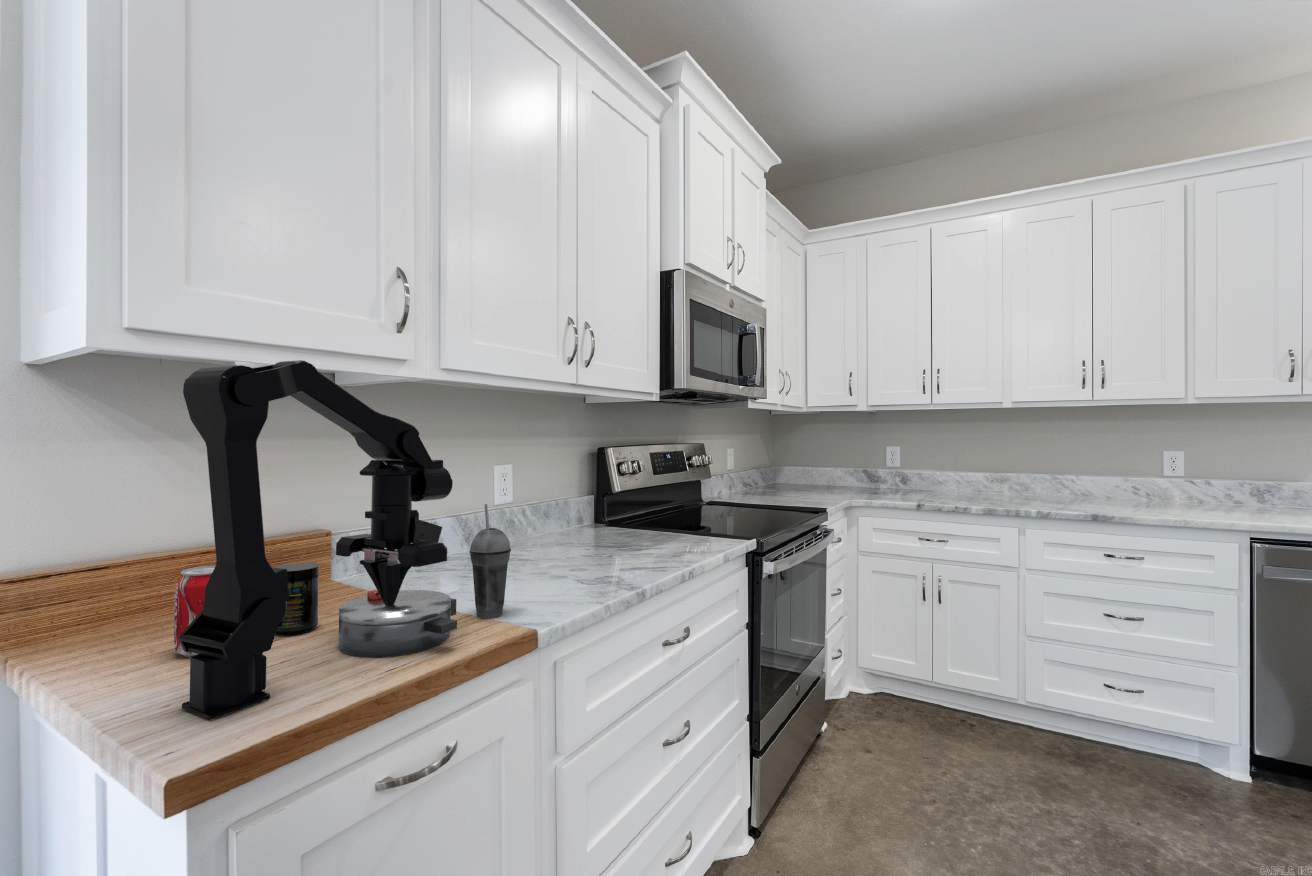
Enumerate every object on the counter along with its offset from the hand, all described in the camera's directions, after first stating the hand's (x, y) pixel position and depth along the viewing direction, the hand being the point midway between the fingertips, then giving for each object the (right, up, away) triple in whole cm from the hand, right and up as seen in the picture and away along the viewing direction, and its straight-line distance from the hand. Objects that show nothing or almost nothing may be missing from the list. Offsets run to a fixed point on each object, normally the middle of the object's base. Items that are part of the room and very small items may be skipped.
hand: (389, 604), depth 91 cm
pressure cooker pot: (+1, -6, +1) cm, 6 cm away
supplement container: (-18, -6, +5) cm, 19 cm away
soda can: (-25, -6, -5) cm, 26 cm away
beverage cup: (+11, -6, +15) cm, 19 cm away
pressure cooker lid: (+1, -1, +1) cm, 2 cm away
